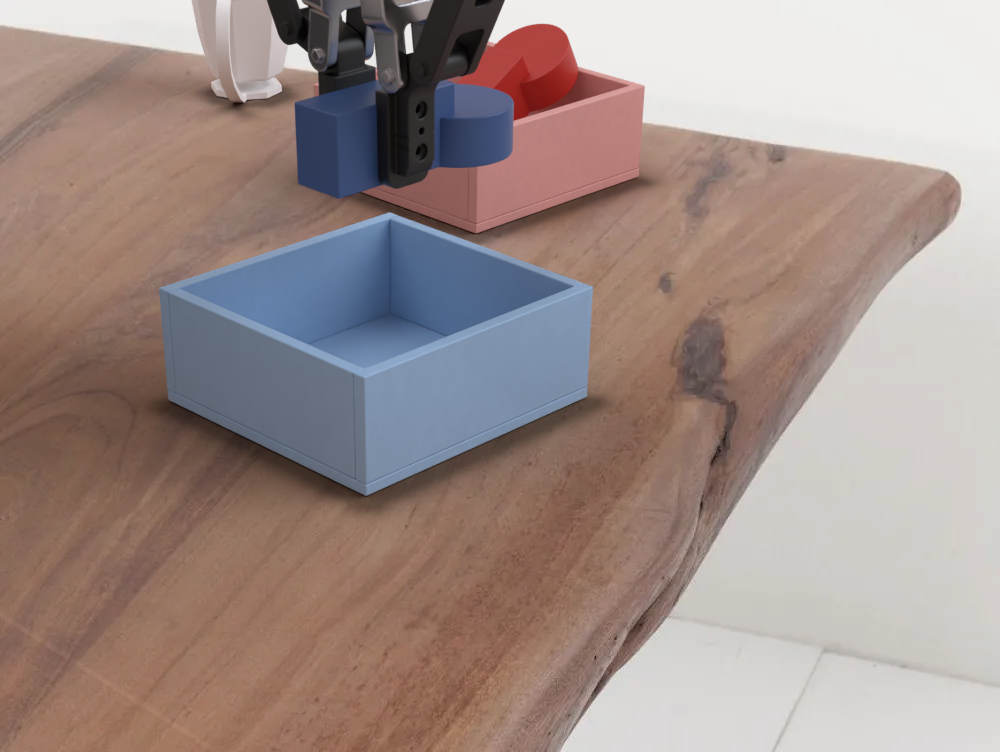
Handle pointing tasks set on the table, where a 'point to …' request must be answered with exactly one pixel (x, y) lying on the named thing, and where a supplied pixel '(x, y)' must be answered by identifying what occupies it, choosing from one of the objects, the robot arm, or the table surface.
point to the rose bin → (539, 159)
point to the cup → (240, 47)
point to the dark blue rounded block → (353, 134)
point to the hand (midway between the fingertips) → (377, 171)
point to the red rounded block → (528, 68)
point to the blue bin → (376, 348)
